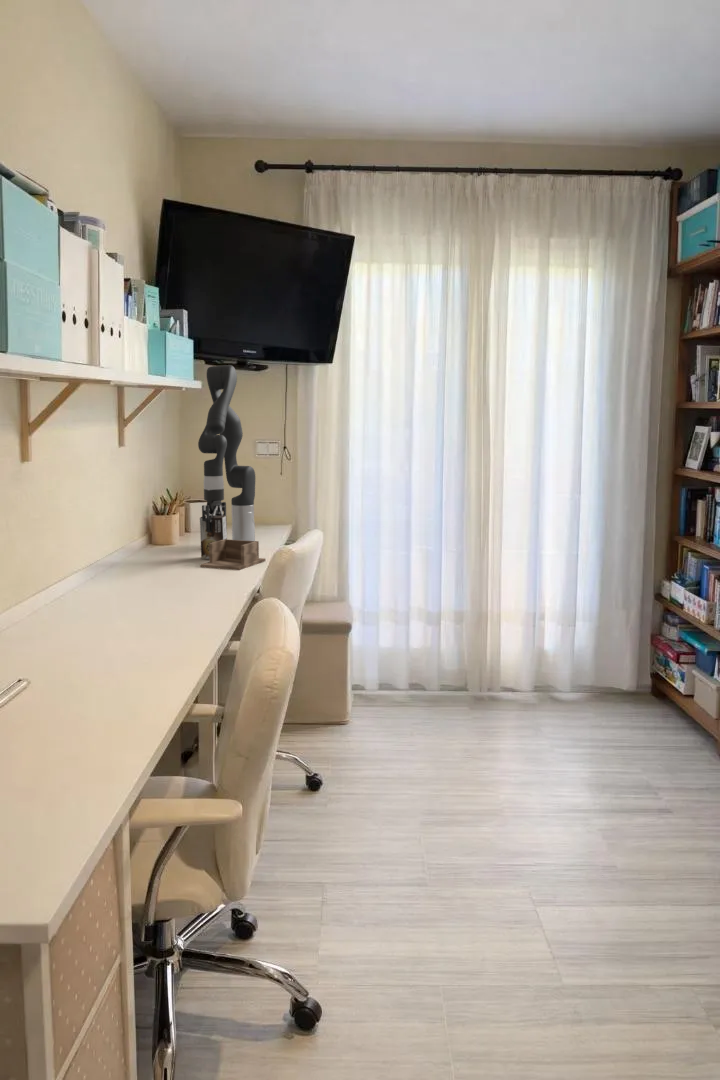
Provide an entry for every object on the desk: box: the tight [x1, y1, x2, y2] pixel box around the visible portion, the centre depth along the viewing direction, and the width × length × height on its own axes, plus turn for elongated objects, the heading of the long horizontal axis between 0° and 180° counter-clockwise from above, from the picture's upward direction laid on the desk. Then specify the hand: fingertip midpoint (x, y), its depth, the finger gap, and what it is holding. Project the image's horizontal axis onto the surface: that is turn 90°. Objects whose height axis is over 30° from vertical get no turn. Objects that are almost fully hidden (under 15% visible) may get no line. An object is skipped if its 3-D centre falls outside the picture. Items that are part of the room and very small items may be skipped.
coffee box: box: [199, 514, 228, 560], centre depth 342 cm, size 9×6×16 cm
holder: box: [199, 538, 266, 571], centre depth 330 cm, size 20×16×8 cm
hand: (214, 530), depth 342 cm, fingers closed on coffee box, 7 cm apart
